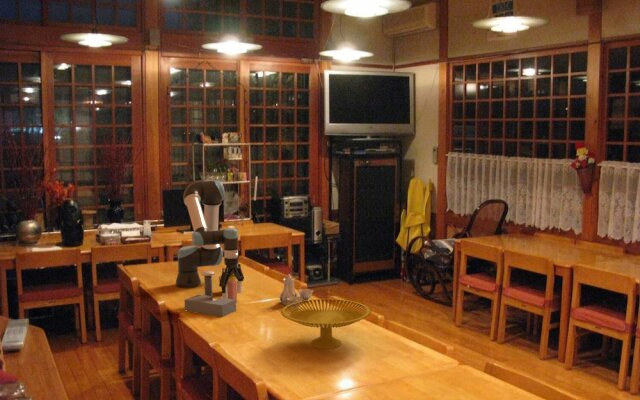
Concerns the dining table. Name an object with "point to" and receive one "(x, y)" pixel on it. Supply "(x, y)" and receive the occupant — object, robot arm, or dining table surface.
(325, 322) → the pedestal fruit bowl
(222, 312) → the notched board
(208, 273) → the bobbin
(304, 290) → the chinaware
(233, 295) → the tab
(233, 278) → the plant pot
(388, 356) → the dining table surface
